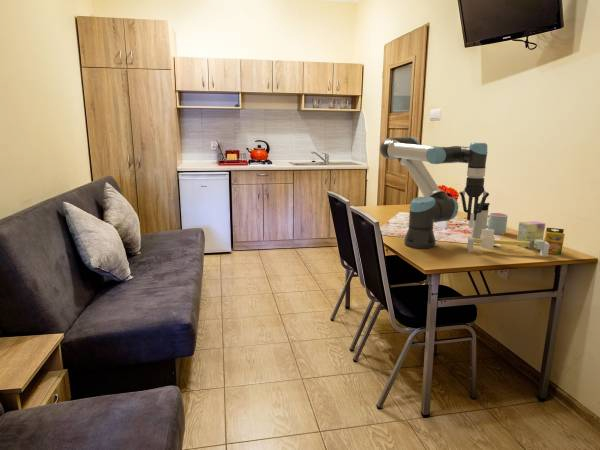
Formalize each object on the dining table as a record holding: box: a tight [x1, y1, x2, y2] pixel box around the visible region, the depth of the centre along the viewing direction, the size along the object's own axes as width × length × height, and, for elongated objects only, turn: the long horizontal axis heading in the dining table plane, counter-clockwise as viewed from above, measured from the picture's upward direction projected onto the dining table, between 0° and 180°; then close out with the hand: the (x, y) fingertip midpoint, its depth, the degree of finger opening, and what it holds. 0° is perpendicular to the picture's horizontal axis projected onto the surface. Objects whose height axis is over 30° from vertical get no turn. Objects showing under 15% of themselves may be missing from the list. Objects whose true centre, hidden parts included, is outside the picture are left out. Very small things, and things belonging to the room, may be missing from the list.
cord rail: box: [466, 236, 549, 258], centre depth 193 cm, size 34×4×7 cm, turn 77°
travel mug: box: [471, 202, 491, 239], centre depth 210 cm, size 6×7×20 cm
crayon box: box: [543, 227, 566, 255], centre depth 192 cm, size 7×3×12 cm, turn 70°
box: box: [516, 220, 546, 249], centre depth 203 cm, size 10×6×12 cm, turn 102°
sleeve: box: [479, 228, 495, 249], centre depth 194 cm, size 5×5×8 cm
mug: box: [486, 212, 509, 235], centre depth 230 cm, size 14×9×10 cm
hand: (470, 227), depth 194 cm, fingers closed
